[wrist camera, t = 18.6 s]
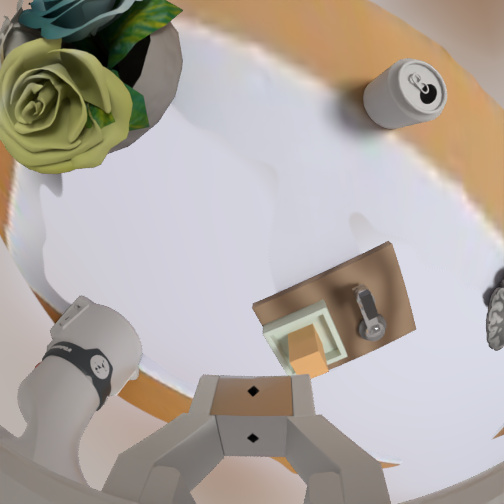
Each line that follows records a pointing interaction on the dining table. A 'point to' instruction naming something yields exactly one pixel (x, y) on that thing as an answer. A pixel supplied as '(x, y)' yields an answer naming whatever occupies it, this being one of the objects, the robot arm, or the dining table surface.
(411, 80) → the can
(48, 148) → the flower arrangement
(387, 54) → the dining table surface
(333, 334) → the tray
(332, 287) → the mechanism board
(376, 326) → the crank
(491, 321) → the brain slice
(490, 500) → the robot arm
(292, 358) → the block
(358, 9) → the dining table surface
